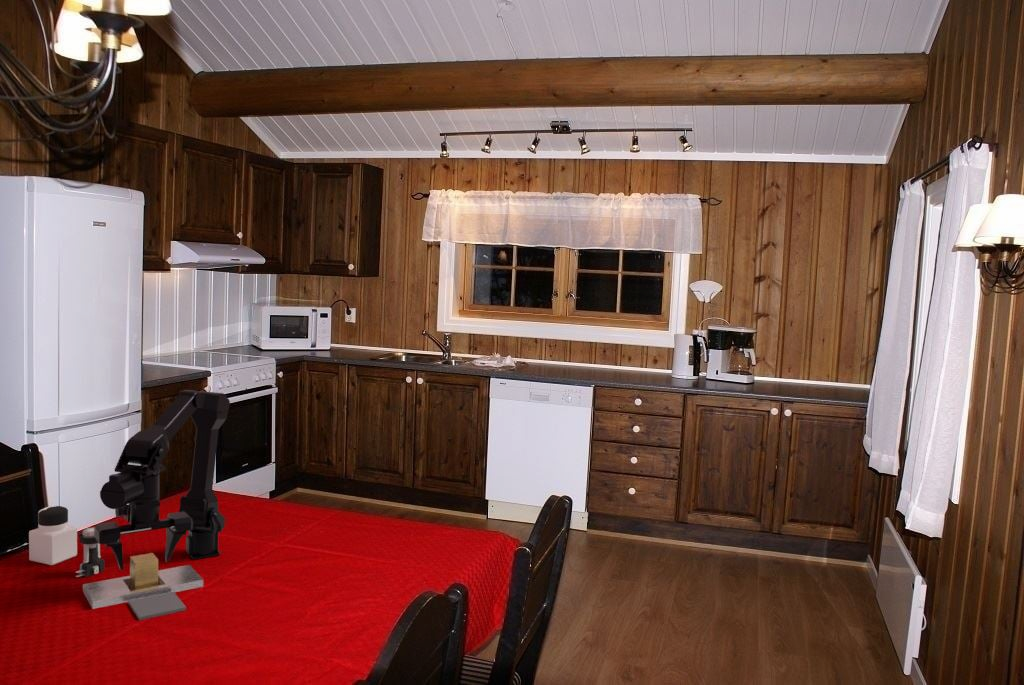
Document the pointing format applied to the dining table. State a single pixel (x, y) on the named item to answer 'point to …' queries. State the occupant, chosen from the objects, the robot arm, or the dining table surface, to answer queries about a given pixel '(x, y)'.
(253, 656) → the dining table surface
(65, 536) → the medicine bottle
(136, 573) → the brass block
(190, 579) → the rail
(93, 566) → the push button
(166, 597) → the pad
